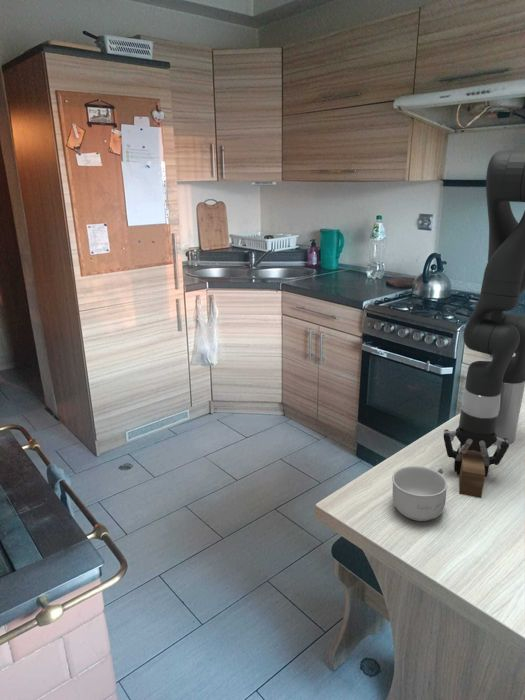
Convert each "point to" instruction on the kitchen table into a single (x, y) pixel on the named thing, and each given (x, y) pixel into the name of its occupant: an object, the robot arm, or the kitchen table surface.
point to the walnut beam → (472, 474)
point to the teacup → (419, 492)
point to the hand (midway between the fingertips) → (469, 474)
